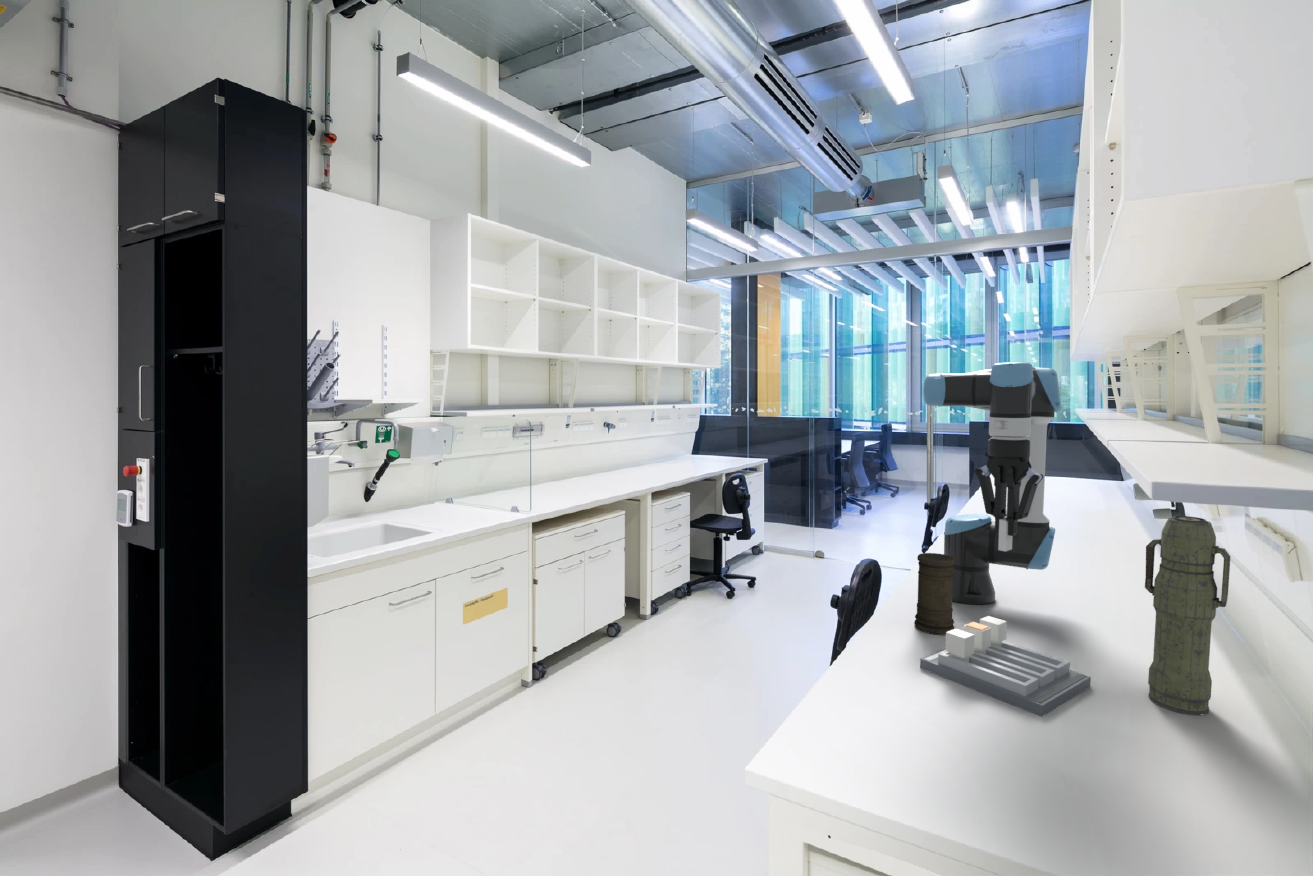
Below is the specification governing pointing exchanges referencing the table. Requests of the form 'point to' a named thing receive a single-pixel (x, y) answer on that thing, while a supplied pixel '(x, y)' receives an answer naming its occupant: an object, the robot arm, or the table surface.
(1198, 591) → the thermos
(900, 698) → the table surface
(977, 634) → the handle
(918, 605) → the container
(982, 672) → the panel
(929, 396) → the robot arm
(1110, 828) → the table surface
